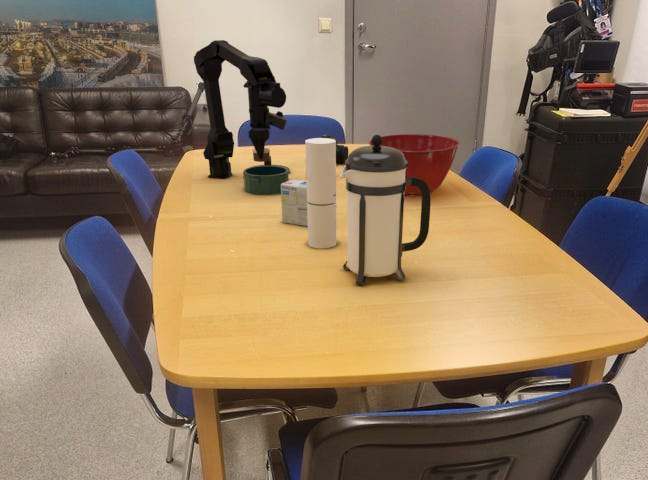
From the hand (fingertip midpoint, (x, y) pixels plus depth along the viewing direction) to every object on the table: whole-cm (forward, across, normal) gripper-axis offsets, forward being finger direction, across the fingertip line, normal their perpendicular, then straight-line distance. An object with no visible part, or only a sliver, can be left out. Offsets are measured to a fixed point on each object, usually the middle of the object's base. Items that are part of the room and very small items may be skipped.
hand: (261, 156), depth 200 cm
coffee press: (+10, -76, -28) cm, 82 cm away
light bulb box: (+10, -37, -12) cm, 40 cm away
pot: (+10, 0, -1) cm, 10 cm away
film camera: (+10, +37, -25) cm, 46 cm away
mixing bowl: (+10, -5, -48) cm, 49 cm away
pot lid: (+10, +24, -1) cm, 25 cm away
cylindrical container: (+10, -55, -16) cm, 59 cm away
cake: (+1, 0, 0) cm, 1 cm away
